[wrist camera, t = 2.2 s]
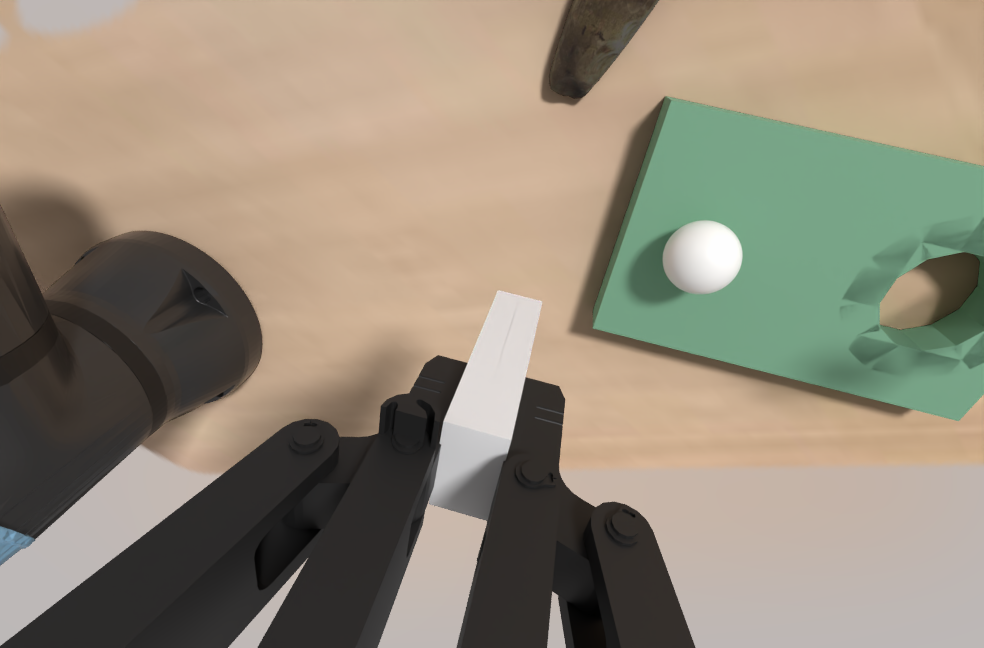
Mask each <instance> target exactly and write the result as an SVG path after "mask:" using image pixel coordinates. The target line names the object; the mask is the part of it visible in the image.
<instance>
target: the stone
mask: <svg viewBox="0 0 984 648" xmlns="http://www.w3.org/2000/svg"><path fill="white" fill-rule="evenodd" d="M658 1H659V0H573V2H572V5H571V8H570V11H569V14H568V16H567V19H566V22H565V25H564V28H563V31H562V34H561V37H560V40H559V43H558V47H557V50H556V53H555V57H554V60H553V63H552V67H551V70H550V74H549V82H550V87H551V89H552V90H553V91H555V92H557V93H558V94H560V95H563V96H569V97H572V98H581V97H583V96H585V95H586V94H587V93H588V92H589V91H590V90H591V88H592V87H593V86H594V85H595V84H596V83H597V82H598V81H599V79H600V78H601V77H602V75H603V74H604V73H605V72H606V71H607V69H608V68H609V67H610V66H611V65H612V63H613V62H614V61H615V60H616V58H617V57H618V56H619V54H620V53H621V52H622V50H623V49H624V48H625V47H626V45H627V44H628V43H629V41H630V40H631V39H632V37H633V36H634V35H635V33H636V32H637V30H638V29H639V28H640V26H641V25H642V24H643V22H644V21H645V20H646V18H647V17H648V15H649V14H650V13H651V11H652V10H653V8H654V7H655V5H656V4H657V3H658Z"/></svg>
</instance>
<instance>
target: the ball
mask: <svg viewBox="0 0 984 648" xmlns="http://www.w3.org/2000/svg"><path fill="white" fill-rule="evenodd" d="M742 258H743V255H742V247H741V244H740V241H739V239H738V238H737V236H736V235H735V234H734V232H733V231H731V230H730V229H729V228H728V227H726V226H725V225H723V224H721V223H718V222H715V221H709V220H702V221H695V222H691V223H688V224H686V225H684V226H682V227H681V228H679V229H678V230H677V231H676V232H674V233H673V235H672V236H671V237H670V238H669V240H668V241H667V243H666V245H665V248H664V251H663V267H664V271H665V273H666V275H667V277H668V279H669V280H670V281H671V282H672V283H673V284H674V285H675V286H676V287H677V288H679V289H681V290H683V291H685V292H688V293H691V294H710V293H713V292H716V291H719V290H721V289H723V288H724V287H726V286H727V285H728V284H729V283H730V282H731V281H732V280H733V279H734V278H735V277H736V275H737V274H738V272H739V270H740V267H741V264H742Z"/></svg>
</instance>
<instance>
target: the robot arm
mask: <svg viewBox="0 0 984 648" xmlns="http://www.w3.org/2000/svg"><path fill="white" fill-rule="evenodd" d="M541 306H542V301H539V300H535V299H531V298H527V297H523V296H519V295H515V294H511V293H507V292H503V291H500V290H498V292H497V294H496V296H495V299H494V301H493V304H492V306H491V308H490V311H489V313H488V316H487V318H486V320H485V323H484V325H483V328H482V330H481V332H480V335H479V337H478V340H477V342H476V344H475V347H474V349H473V352H472V354H471V356H470V359H469V361H468V363H465V362H462V361H458V360H454V359H450V358H447V357H443V356H439V355H438V356H436V357H435V358H433V359H432V360H430V361H429V362H427V363H426V364H425V365H424V367H423V369H422V371H421V373H420V375H419V377H418V378H417V380H416V382H415V384H414V387H412V389H411V391H410V393H409V394H401V395H396V396H394V397H392V398H389V399H387V400H386V401H385V402H384V403H383V404H382V405H381V411H380V423H379V433H378V434H376V435H372V436H368V437H339V435H338V432H337V430H336V428H334V427H333V426H332V425H331V424H329V423H328V422H324V421H321V420H318V419H304V420H300V421H296V422H292V423H291V424H289V425H287V426H285V427H283V428H282V429H281V430H279V431H278V432H277V433H275V434H274V435H273V436H272V437H270V438H269V439H268V440H266V441H265V442H264V443H263V444H261V445H260V446H259V447H257V448H256V449H255V450H253V451H252V452H251V453H250V454H248V455H247V456H246V457H244V458H243V459H242V460H241V461H239V462H238V463H237V464H235V465H234V466H233V467H231V468H230V469H229V470H228V471H226V472H225V473H224V474H222V475H221V476H220V477H219V478H217V479H216V480H215V481H213V482H212V483H211V484H210V485H208V486H207V487H206V488H204V489H203V490H202V491H201V492H199V493H198V494H197V495H195V496H194V497H193V498H191V499H190V500H189V501H187V502H186V503H185V504H184V505H182V506H181V507H180V508H179V509H177V510H176V511H175V512H173V513H172V514H171V515H169V516H168V517H167V518H165V519H164V520H163V521H162V522H160V523H159V524H158V525H156V526H155V527H154V528H153V529H151V530H150V531H149V532H147V533H146V534H145V535H143V536H142V537H141V538H140V539H138V540H137V541H136V542H134V543H133V544H132V545H131V546H129V547H128V548H127V549H126V550H124V551H123V552H121V553H120V554H119V555H118V556H116V557H115V558H114V559H112V560H111V561H110V562H109V563H107V564H106V565H105V566H103V567H102V568H101V569H99V570H98V571H97V572H96V573H94V574H93V575H92V576H91V577H89V578H88V579H87V580H85V581H84V582H83V583H81V584H80V585H79V586H77V587H76V588H75V589H74V590H72V591H71V592H70V593H68V594H67V595H66V596H64V597H63V598H62V599H61V600H59V601H58V602H57V603H56V604H54V605H53V606H52V607H50V608H49V609H48V610H46V611H45V612H44V613H42V614H41V615H40V616H39V617H37V618H36V619H35V620H33V621H32V622H31V623H30V624H28V625H27V626H26V627H24V628H23V629H22V630H21V631H19V632H18V633H17V634H15V635H14V636H13V637H11V638H10V639H9V640H8V641H6V642H5V643H4V644H2V645H1V646H0V648H228V647H229V645H231V643H232V642H233V641H234V640H235V639H236V638H237V637H238V635H240V633H241V632H242V631H243V630H244V629H245V627H247V626H248V624H249V623H250V622H251V621H252V620H253V619H254V617H256V615H257V614H258V613H259V612H260V611H261V610H262V609H263V607H264V606H265V605H266V604H267V603H268V602H269V601H270V600H271V599H272V597H273V596H274V595H275V594H276V593H277V592H278V591H279V590H280V588H281V587H282V586H283V585H284V584H285V583H286V582H287V581H288V580H289V578H290V577H291V576H292V575H293V574H294V573H295V572H296V571H297V569H298V568H299V567H300V566H301V565H302V564H303V563H304V562H305V560H306V559H307V558H308V557H309V558H308V559H307V561H306V563H305V565H304V567H303V568H302V570H301V572H300V574H299V575H298V577H297V579H296V581H295V583H294V584H293V586H292V588H291V589H290V591H289V593H288V595H287V596H286V598H285V600H284V602H283V604H282V605H281V607H280V609H279V611H278V612H277V614H276V616H275V618H274V619H273V621H272V623H271V625H270V627H269V628H268V630H267V632H266V634H265V636H264V637H263V639H262V641H261V642H260V644H259V646H258V648H377V647H378V645H379V642H380V639H381V636H382V634H383V631H384V628H385V625H386V622H387V620H388V617H389V614H390V612H391V609H392V606H393V604H394V601H395V598H396V595H397V593H398V589H399V587H400V584H401V582H402V579H403V576H404V574H405V571H406V568H407V565H408V563H409V560H410V557H411V555H412V552H413V549H414V546H415V544H416V541H417V538H418V535H419V533H420V530H421V527H422V525H423V519H424V513H425V509H426V506H427V504H428V501H429V498H430V501H429V504H431V505H434V506H438V507H442V508H445V509H448V510H452V511H456V512H459V513H462V514H466V515H469V516H473V517H476V518H479V519H483V520H486V521H487V526H486V529H485V533H484V537H483V540H482V544H481V547H480V551H479V554H478V558H477V565H476V569H475V573H474V577H473V582H472V586H471V590H470V594H469V598H468V602H467V607H466V611H465V615H464V619H463V623H462V628H461V632H460V636H459V640H458V645H457V648H547V641H548V630H549V619H550V608H551V596H552V591H553V592H554V593H556V594H557V595H558V600H559V606H560V612H561V619H562V625H563V631H564V638H565V644H566V648H695V645H694V643H693V640H692V637H691V634H690V631H689V629H688V626H687V623H686V620H685V618H684V615H683V612H682V610H681V607H680V604H679V601H678V598H677V596H676V593H675V590H674V587H673V585H672V582H671V579H670V576H669V574H668V571H667V568H666V565H665V563H664V560H663V557H662V554H661V552H660V549H659V546H658V544H657V541H656V538H655V535H654V532H653V530H652V529H651V527H650V525H649V523H648V522H647V520H646V519H645V518H644V517H643V516H642V515H641V514H640V513H639V512H638V511H636V510H634V509H632V508H631V507H629V506H627V505H625V504H621V503H617V502H607V503H602V504H601V505H599V506H597V507H594V506H592V505H591V504H589V503H587V502H586V501H584V500H582V499H581V498H579V497H578V496H576V495H575V494H573V493H572V492H571V491H570V489H569V488H568V487H566V485H565V483H564V482H563V480H562V478H561V476H560V473H559V459H560V448H561V438H562V427H563V426H562V425H563V417H564V415H563V414H564V407H565V398H564V396H563V394H562V392H561V389H560V387H559V386H556V385H552V384H549V383H545V382H541V381H537V380H534V379H530V378H526V373H527V368H528V364H529V359H530V355H531V350H532V346H533V341H534V337H535V332H536V328H537V323H538V319H539V315H540V310H541ZM261 352H262V335H261V329H260V325H259V322H258V319H257V316H256V313H255V311H254V309H253V307H252V305H251V303H250V301H249V299H248V298H247V296H246V294H245V293H244V291H243V290H242V289H241V287H240V286H239V285H238V283H237V282H236V281H235V280H234V279H233V277H232V276H231V275H230V274H229V273H228V272H227V271H226V270H225V269H224V268H223V267H222V266H221V265H220V264H218V263H217V262H216V261H215V260H214V259H212V258H211V257H210V256H208V255H207V254H206V253H204V252H203V251H201V250H200V249H198V248H196V247H195V246H193V245H191V244H189V243H187V242H185V241H183V240H181V239H178V238H176V237H173V236H170V235H167V234H163V233H158V232H152V231H133V232H128V233H124V234H121V235H119V236H116V237H114V238H111V239H109V240H106V241H104V242H101V243H99V244H97V245H95V246H94V247H92V248H90V249H89V250H88V251H86V252H85V253H84V254H83V255H82V256H81V258H80V259H79V260H78V261H77V262H76V263H75V265H74V266H73V267H72V268H71V269H70V270H69V271H67V272H66V273H65V274H64V275H63V276H62V277H61V278H59V279H58V280H57V281H56V282H55V283H54V284H53V285H52V286H51V287H50V288H49V289H47V290H46V291H45V292H44V293H43V294H42V293H41V291H40V289H39V287H38V284H37V282H36V280H35V278H34V276H33V274H32V272H31V269H30V267H29V265H28V263H27V261H26V259H25V256H24V254H23V252H22V250H21V248H20V246H19V244H18V241H17V239H16V237H15V235H14V233H13V231H12V228H11V226H10V224H9V222H8V220H7V218H6V216H5V213H4V211H3V209H2V207H1V205H0V565H2V564H3V563H4V562H5V561H7V560H8V559H9V558H10V557H12V556H13V555H14V554H15V553H17V552H18V551H19V550H21V549H23V548H26V547H28V546H30V545H31V544H32V542H34V541H35V539H36V538H37V537H38V536H39V535H40V534H42V533H43V532H44V531H45V530H46V529H47V528H48V527H49V526H50V525H52V523H54V522H55V521H56V520H57V519H58V518H59V517H60V516H62V515H63V514H64V513H65V512H66V511H67V510H68V509H69V508H70V507H72V506H73V505H74V504H75V503H76V502H77V501H78V500H79V499H80V498H81V497H83V496H84V495H85V494H86V493H87V492H88V491H89V490H90V489H91V488H93V486H95V485H96V484H97V483H98V482H99V481H100V480H101V479H103V478H104V477H105V476H106V475H107V474H108V473H109V472H110V471H111V470H112V469H114V468H115V467H116V466H117V465H118V464H119V463H120V462H121V461H122V460H124V459H125V458H126V457H127V456H128V455H129V454H130V453H131V452H132V451H133V450H135V449H136V448H137V447H138V446H139V445H140V444H141V443H142V442H143V441H144V440H146V439H147V438H148V437H149V436H150V435H151V434H153V433H154V432H155V431H156V430H157V429H158V428H160V427H161V426H162V425H163V424H164V423H166V422H168V421H170V420H173V419H175V418H177V417H180V416H182V415H184V414H186V413H188V412H190V411H192V410H194V409H196V408H198V407H200V406H201V405H203V404H205V403H210V402H213V401H216V400H219V399H221V398H223V397H225V396H227V395H228V394H230V393H231V392H233V391H234V390H235V389H236V388H237V387H238V386H240V385H241V384H242V383H243V382H244V381H245V380H246V379H247V378H248V377H249V376H250V375H251V374H252V373H253V372H254V370H255V369H256V367H257V365H258V363H259V360H260V357H261Z"/></svg>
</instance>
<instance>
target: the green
mask: <svg viewBox="0 0 984 648" xmlns="http://www.w3.org/2000/svg"><path fill="white" fill-rule="evenodd" d="M702 220H709V221H715V222H718V223H721V224H723V225H725V226H726V227H728V228H729V229H730V230H731V231H733V232H734V234H735V235H736V236H737V238H738V239H739V241H740V244H741V247H742V255H743V258H742V264H741V267H740V270H739V272H738V274H737V275H736V277H735V278H734V279H733V280H732V281H731V282H730V283H729V284H728V285H727V286H726V287H724V288H723V289H721V290H719V291H716V292H713V293H710V294H691V293H688V292H685V291H683V290H681V289H679V288H677V287H676V286H675V285H674V284H673V283H672V282H671V281H670V280H669V279H668V277H667V275H666V273H665V271H664V267H663V251H664V248H665V245H666V243H667V241H668V240H669V238H670V237H671V236H672V235H673V233H674V232H676V231H677V230H678V229H679V228H681V227H682V226H684V225H686V224H688V223H691V222H695V221H702ZM961 252H967V253H971V254H974V255H975V256H976V257H977V258H978V260H979V261H980V265H979V276H978V286H977V287H976V288H975V290H974V291H973V292H972V293H971V295H970V296H969V297H968V298H967V300H966V301H965V302H964V303H963V305H962V306H961V307H960V309H958V310H956V311H955V312H953V313H951V314H949V315H948V316H946V317H944V318H942V319H940V320H939V321H937V322H935V323H933V324H931V325H927V326H921V327H915V328H909V329H903V330H898V329H894V328H890V327H886V326H882V325H880V302H881V301H882V299H883V298H884V296H885V295H886V293H887V292H888V290H889V289H890V288H891V286H892V285H893V283H894V282H895V280H896V279H897V278H898V277H900V276H902V275H903V274H905V273H906V272H908V271H910V270H911V269H913V268H914V267H916V266H918V265H919V264H921V263H923V262H924V261H926V260H927V259H932V258H937V257H942V256H947V255H952V254H956V253H961ZM593 329H597V330H601V331H605V332H609V333H613V334H617V335H621V336H625V337H629V338H633V339H637V340H641V341H645V342H649V343H652V344H656V345H660V346H664V347H668V348H672V349H676V350H680V351H684V352H688V353H692V354H696V355H700V356H704V357H708V358H712V359H716V360H720V361H724V362H727V363H731V364H735V365H739V366H743V367H747V368H751V369H755V370H759V371H763V372H767V373H771V374H775V375H779V376H783V377H787V378H791V379H795V380H798V381H802V382H806V383H810V384H814V385H818V386H822V387H826V388H830V389H834V390H838V391H842V392H846V393H850V394H854V395H858V396H862V397H866V398H870V399H873V400H877V401H881V402H885V403H889V404H893V405H897V406H901V407H905V408H909V409H913V410H917V411H921V412H925V413H929V414H933V415H937V416H941V417H945V418H948V419H952V420H956V421H959V420H960V419H961V418H962V417H963V416H964V415H965V414H966V413H967V412H968V411H969V410H970V408H971V407H972V406H973V405H974V404H975V403H976V402H977V401H978V400H979V399H980V398H981V397H982V395H983V394H984V166H981V165H976V164H972V163H967V162H963V161H958V160H954V159H949V158H944V157H940V156H935V155H931V154H926V153H922V152H917V151H913V150H908V149H903V148H899V147H894V146H890V145H885V144H881V143H876V142H872V141H867V140H863V139H858V138H853V137H849V136H844V135H840V134H835V133H831V132H826V131H822V130H817V129H813V128H808V127H803V126H799V125H794V124H790V123H785V122H781V121H776V120H772V119H767V118H763V117H758V116H753V115H749V114H744V113H740V112H735V111H731V110H726V109H722V108H717V107H712V106H708V105H703V104H699V103H694V102H690V101H685V100H681V99H676V98H672V97H667V96H665V99H664V102H663V105H662V108H661V111H660V113H659V116H658V119H657V122H656V125H655V128H654V131H653V134H652V137H651V140H650V143H649V146H648V149H647V152H646V155H645V158H644V161H643V164H642V167H641V170H640V173H639V176H638V179H637V182H636V185H635V188H634V190H633V193H632V196H631V199H630V202H629V205H628V208H627V211H626V214H625V217H624V220H623V223H622V226H621V229H620V232H619V235H618V238H617V241H616V244H615V247H614V250H613V253H612V256H611V259H610V262H609V265H608V267H607V270H606V273H605V276H604V279H603V282H602V285H601V288H600V291H599V294H598V297H597V300H596V303H595V306H594V309H593Z"/></svg>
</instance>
